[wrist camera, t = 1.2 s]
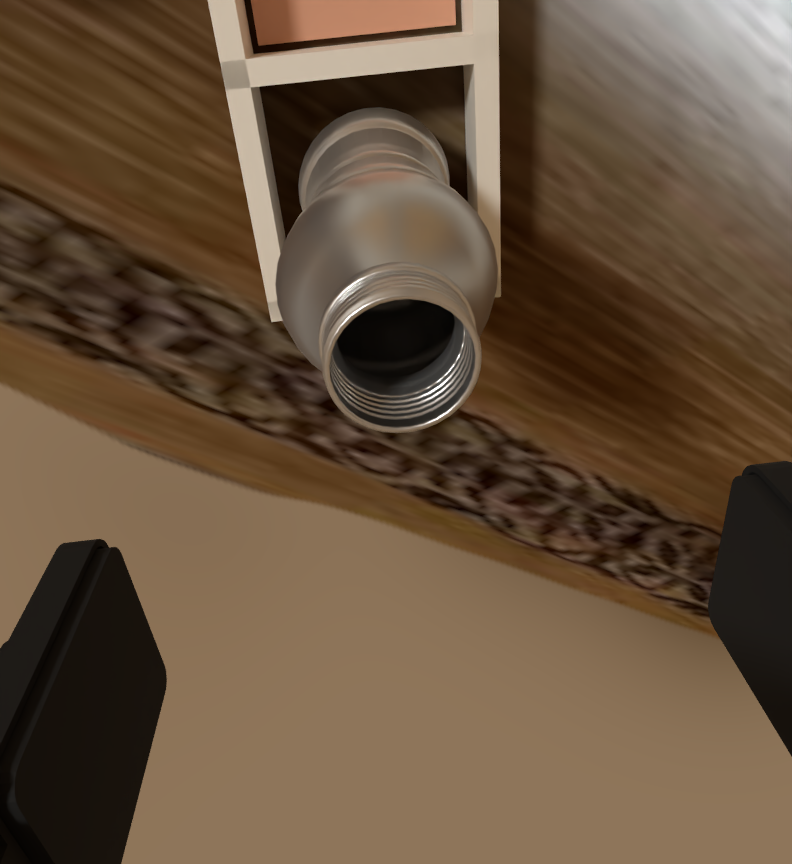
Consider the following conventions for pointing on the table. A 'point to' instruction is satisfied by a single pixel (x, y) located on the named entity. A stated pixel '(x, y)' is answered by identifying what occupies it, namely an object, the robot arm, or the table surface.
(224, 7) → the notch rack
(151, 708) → the robot arm
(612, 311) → the table surface
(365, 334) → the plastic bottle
